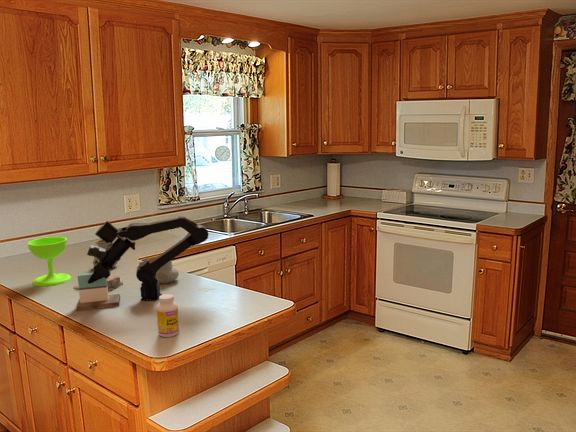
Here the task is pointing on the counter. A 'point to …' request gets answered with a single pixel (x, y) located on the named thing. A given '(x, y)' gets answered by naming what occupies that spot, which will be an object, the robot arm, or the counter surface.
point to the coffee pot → (104, 246)
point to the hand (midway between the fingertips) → (88, 281)
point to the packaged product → (110, 283)
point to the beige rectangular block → (93, 294)
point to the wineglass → (49, 259)
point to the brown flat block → (100, 303)
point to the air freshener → (167, 273)
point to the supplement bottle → (167, 316)
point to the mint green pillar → (84, 283)
